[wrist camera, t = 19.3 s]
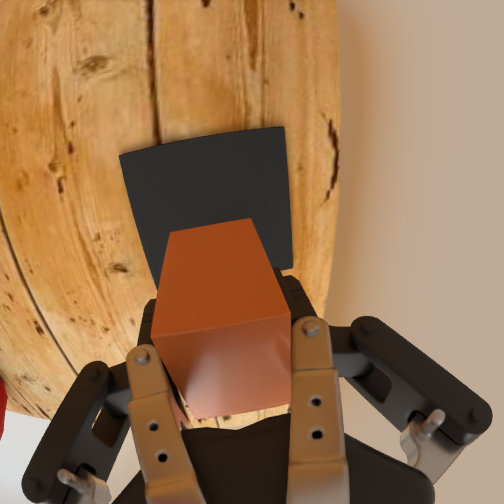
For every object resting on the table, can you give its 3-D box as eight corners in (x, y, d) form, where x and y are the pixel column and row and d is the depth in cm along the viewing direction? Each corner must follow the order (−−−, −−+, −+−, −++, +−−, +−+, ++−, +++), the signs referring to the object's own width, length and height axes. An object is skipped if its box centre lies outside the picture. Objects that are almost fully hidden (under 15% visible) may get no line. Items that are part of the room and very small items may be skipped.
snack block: (169, 231, 13) (149, 337, 7) (250, 217, 14) (291, 312, 8) (193, 312, 16) (195, 419, 10) (260, 300, 16) (292, 403, 10)
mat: (120, 154, 18) (118, 155, 17) (282, 126, 19) (284, 126, 19) (158, 289, 24) (157, 292, 23) (291, 266, 25) (293, 268, 24)
